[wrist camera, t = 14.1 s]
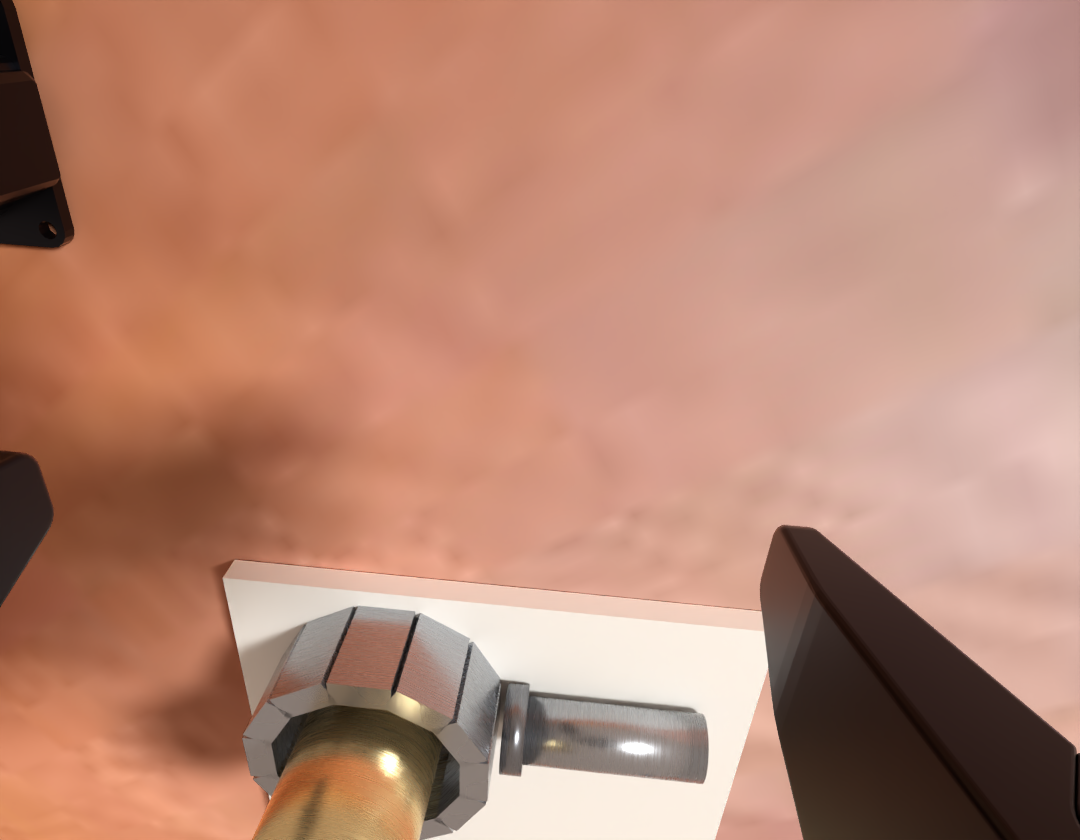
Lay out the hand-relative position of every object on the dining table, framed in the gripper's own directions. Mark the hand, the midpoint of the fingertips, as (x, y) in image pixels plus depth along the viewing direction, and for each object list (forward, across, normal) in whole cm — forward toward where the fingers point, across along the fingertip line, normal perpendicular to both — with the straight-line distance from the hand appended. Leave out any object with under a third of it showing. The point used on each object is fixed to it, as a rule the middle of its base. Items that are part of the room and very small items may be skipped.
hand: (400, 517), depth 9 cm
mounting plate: (+13, 0, +22) cm, 26 cm away
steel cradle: (+12, 0, +22) cm, 25 cm away
